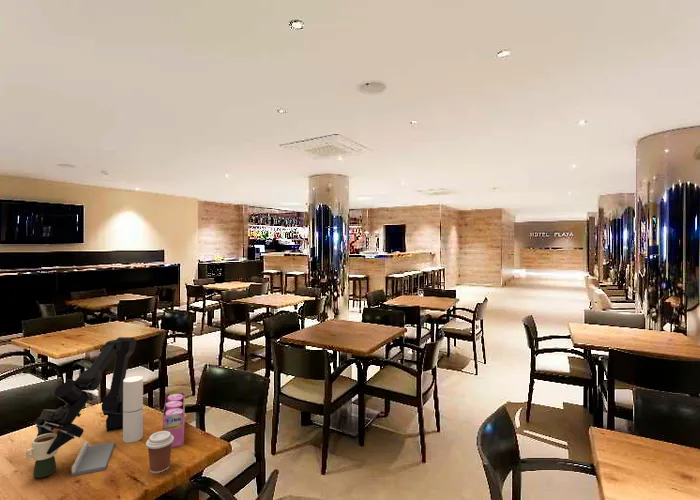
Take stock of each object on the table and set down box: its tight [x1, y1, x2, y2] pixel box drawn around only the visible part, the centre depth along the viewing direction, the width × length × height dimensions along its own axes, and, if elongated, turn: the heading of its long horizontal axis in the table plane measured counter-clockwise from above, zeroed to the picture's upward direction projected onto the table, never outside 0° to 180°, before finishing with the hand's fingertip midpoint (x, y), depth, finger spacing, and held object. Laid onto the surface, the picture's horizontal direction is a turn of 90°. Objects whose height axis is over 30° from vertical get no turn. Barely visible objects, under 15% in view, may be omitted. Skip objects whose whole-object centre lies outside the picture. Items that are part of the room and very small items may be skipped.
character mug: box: [25, 433, 59, 478], centre depth 130 cm, size 11×7×13 cm, turn 152°
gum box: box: [162, 391, 186, 449], centre depth 159 cm, size 24×8×14 cm, turn 23°
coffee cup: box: [145, 430, 174, 474], centre depth 135 cm, size 9×9×12 cm
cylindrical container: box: [122, 375, 144, 444], centre depth 155 cm, size 7×7×25 cm
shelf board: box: [71, 440, 116, 477], centre depth 139 cm, size 10×18×3 cm, turn 23°
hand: (40, 452), depth 129 cm, fingers closed on character mug, 7 cm apart
